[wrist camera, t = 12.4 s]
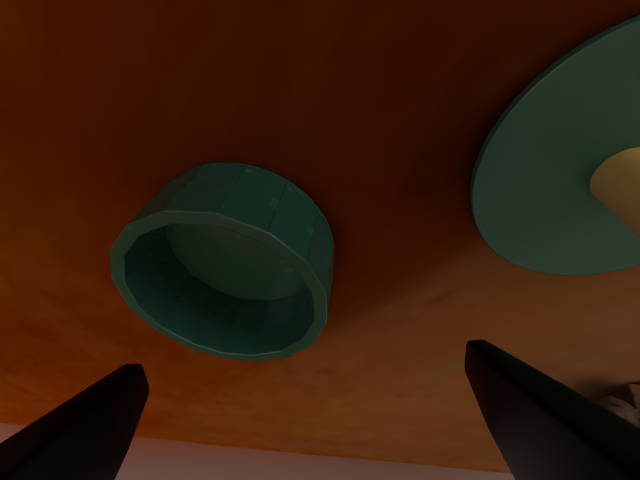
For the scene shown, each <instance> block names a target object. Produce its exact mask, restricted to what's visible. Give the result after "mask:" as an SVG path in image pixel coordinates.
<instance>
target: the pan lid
mask: <svg viewBox="0 0 640 480" xmlns="http://www.w3.org/2000/svg"><path fill="white" fill-rule="evenodd" d="M470 206H471V212H472V215H473V219H474V222H475V224H476V227H477V229H478V230H479V232H480V234H481V236H482V238H483V239H484V240H485V242H486V243H487V244H488V246H489V247H490V248H491V249H493V250H494V251H495V252H496V253H497V254H498V255H500V256H501V257H503V258H504V259H506V260H507V261H509V262H511V263H513V264H515V265H517V266H520V267H523V268H526V269H529V270H532V271H536V272H541V273H546V274H556V275H589V274H599V273H606V272H612V271H617V270H622V269H626V268H631V267H634V266H638V265H640V15H638V16H635V17H633V18H631V19H629V20H627V21H624V22H622V23H620V24H618V25H615V26H613V27H611V28H609V29H607V30H605V31H603V32H601V33H600V34H598V35H596V36H594V37H592V38H591V39H589V40H587V41H585V42H584V43H582V44H580V45H579V46H577V47H576V48H574V49H573V50H571V51H570V52H568V53H567V54H566V55H564V56H563V57H561V58H560V59H558V60H557V61H555V62H554V63H553V64H552V65H551V66H549V67H548V68H547V69H546V70H545V71H543V72H542V73H541V74H540V75H539V76H537V77H536V78H535V79H534V80H533V81H532V82H531V83H530V84H529V85H528V86H527V87H526V88H525V89H524V90H523V91H522V92H521V93H520V94H519V95H518V96H517V97H516V98H515V99H514V100H513V101H512V103H511V104H510V105H509V106H508V108H507V109H506V110H505V111H504V112H503V114H502V115H501V116H500V118H499V119H498V121H497V122H496V124H495V125H494V127H493V128H492V130H491V131H490V133H489V134H488V136H487V138H486V140H485V142H484V144H483V146H482V148H481V150H480V152H479V155H478V157H477V160H476V163H475V166H474V169H473V174H472V178H471V183H470Z"/></svg>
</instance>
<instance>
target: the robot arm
mask: <svg viewBox="0 0 640 480" xmlns="http://www.w3.org/2000/svg"><path fill="white" fill-rule="evenodd" d="M465 372H466V375H467V377H468V380H469V382H470V385H471V387H472V390H473V392H474V394H475V397H476V399H477V402H478V404H479V407H480V409H481V412H482V414H483V416H484V419H485V421H486V424H487V426H488V428H489V430H490V432H491V434H492V436H493V438H494V440H495V442H496V444H497V446H498V448H499V450H500V452H501V453H502V455H503V457H504V459H505V461H506V463H507V465H508V467H509V469H510V470H511V472H512V474H513V476H514V478H515V480H640V427H636V426H635V425H634V424H633V423H631V422H629V421H628V420H626V419H624V418H622V417H621V416H619V415H617V414H615V413H613V412H612V411H610V410H608V409H606V408H605V407H603V406H601V405H599V404H597V403H596V402H594V401H592V400H590V399H589V398H587V397H585V396H583V395H581V394H580V393H578V392H576V391H574V390H573V389H571V388H569V387H567V386H565V385H564V384H562V383H560V382H558V381H557V380H555V379H553V378H551V377H549V376H548V375H546V374H544V373H542V372H540V371H539V370H537V369H535V368H533V367H532V366H530V365H528V364H526V363H524V362H523V361H521V360H519V359H517V358H516V357H514V356H512V355H510V354H508V353H507V352H505V351H503V350H501V349H500V348H498V347H496V346H494V345H492V344H491V343H489V342H487V341H485V340H470V341H468V342H467V345H466V355H465ZM148 395H149V385H148V382H147V379H146V376H145V372H144V369H143V367H142V365H141V364H126V365H123V366H121V367H120V368H118V369H117V370H115V371H113V372H112V373H110V374H109V375H107V376H106V377H104V378H102V379H101V380H99V381H98V382H96V383H95V384H93V385H91V386H90V387H88V388H87V389H85V390H84V391H82V392H80V393H79V394H77V395H76V396H74V397H73V398H71V399H69V400H68V401H66V402H65V403H63V404H62V405H60V406H58V407H57V408H55V409H54V410H52V411H50V412H49V413H47V414H46V415H44V416H43V417H41V418H39V419H38V420H36V421H35V422H33V423H32V424H30V425H28V426H27V427H25V428H24V429H22V430H21V431H19V432H18V433H16V434H14V435H13V436H11V437H10V438H8V439H6V440H5V441H3V442H2V443H0V480H114V479H115V477H116V475H117V473H118V471H119V469H120V467H121V465H122V463H123V460H124V458H125V456H126V454H127V451H128V449H129V446H130V444H131V441H132V438H133V436H134V433H135V430H136V428H137V425H138V422H139V420H140V417H141V414H142V412H143V409H144V406H145V403H146V401H147V398H148Z"/></svg>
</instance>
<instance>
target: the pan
mask: <svg viewBox="0 0 640 480" xmlns="http://www.w3.org/2000/svg"><path fill="white" fill-rule="evenodd" d="M110 263H111V275H112V279H113V282H114V284H115V285H116V287H117V289H118V290H119V292H120V293H121V295H122V297H123V298H124V300H125V301H126V303H127V305H128V306H129V308H130V309H131V310H132V311H134V312H135V313H136V314H137V315H138V316H139V317H141V318H142V319H143V320H144V321H145V322H146V323H148V324H149V325H150V326H151V327H152V328H153V329H155V330H157V331H158V332H160V333H162V334H164V335H165V336H167V337H169V338H171V339H173V340H175V341H177V342H179V343H181V344H182V345H184V346H186V347H189V348H191V349H194V350H198V351H201V352H204V353H208V354H211V355H214V356H218V357H221V358H228V359H239V360H249V361H262V360H269V359H275V358H282V357H287V356H288V357H289V356H291V355H292V354H294V353H296V352H298V351H300V350H302V349H304V348H306V347H308V346H310V345H312V344H313V343H314V341H315V340H316V338H317V337H318V335H319V334H320V333H321V331H322V330H323V328H324V327H325V325H326V324H327V321H328V312H329V304H330V295H331V287H332V278H333V270H334V238H333V235H332V231H331V229H330V226H329V224H328V221H327V219H326V218H325V216H324V215H323V213H322V211H321V210H320V208H319V207H318V206H317V205H316V203H315V202H314V201H313V200H312V199H311V198H310V197H309V196H308V195H307V194H306V193H305V192H304V191H302V190H301V189H300V188H299V187H297V186H296V185H295V184H293V183H292V182H290V181H288V180H287V179H285V178H283V177H282V176H280V175H277V174H275V173H273V172H271V171H269V170H266V169H263V168H260V167H257V166H253V165H248V164H243V163H233V162H216V163H209V164H204V165H200V166H197V167H194V168H191V169H189V170H187V171H185V172H183V173H182V174H180V175H179V176H177V177H175V178H173V179H172V180H170V181H169V182H168V183H167V184H166V185H165V186H164V187H163V188H162V189H161V190H160V191H159V192H158V193H157V194H156V195H155V196H154V197H153V198H152V199H151V200H150V201H149V202H148V203H147V205H146V206H145V207H144V208H143V209H142V210H141V211H140V212H139V213H138V214H137V215H136V216H135V217H134V218H133V219H132V220H131V221H130V222H129V223H128V224H127V225H126V226H125V227H124V229H123V230H122V232H121V233H120V235H119V236H118V238H117V239H116V241H115V242H114V244H113V245H112V247H111V248H110Z"/></svg>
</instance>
